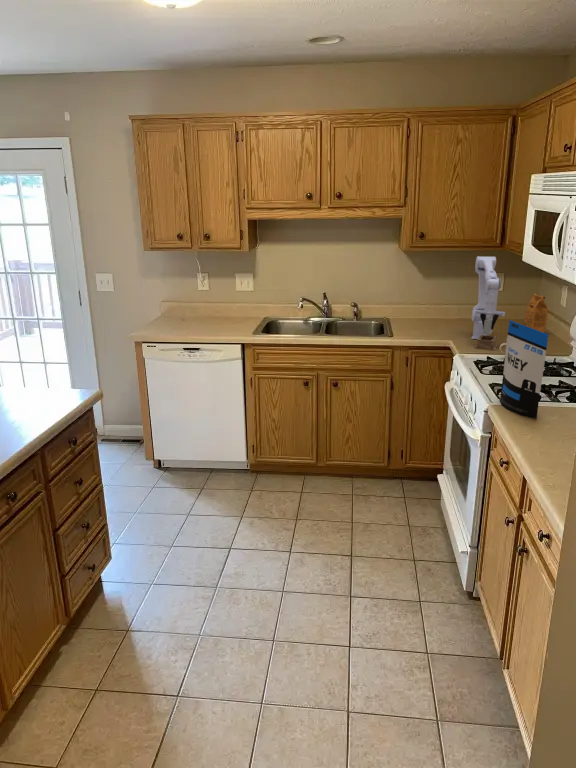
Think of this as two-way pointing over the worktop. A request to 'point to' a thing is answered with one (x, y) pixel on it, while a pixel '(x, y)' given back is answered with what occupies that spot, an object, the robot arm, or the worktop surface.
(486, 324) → the silver metal block
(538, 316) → the coffee package
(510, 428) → the worktop surface
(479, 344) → the brown rectangular frame
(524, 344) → the protein powder
